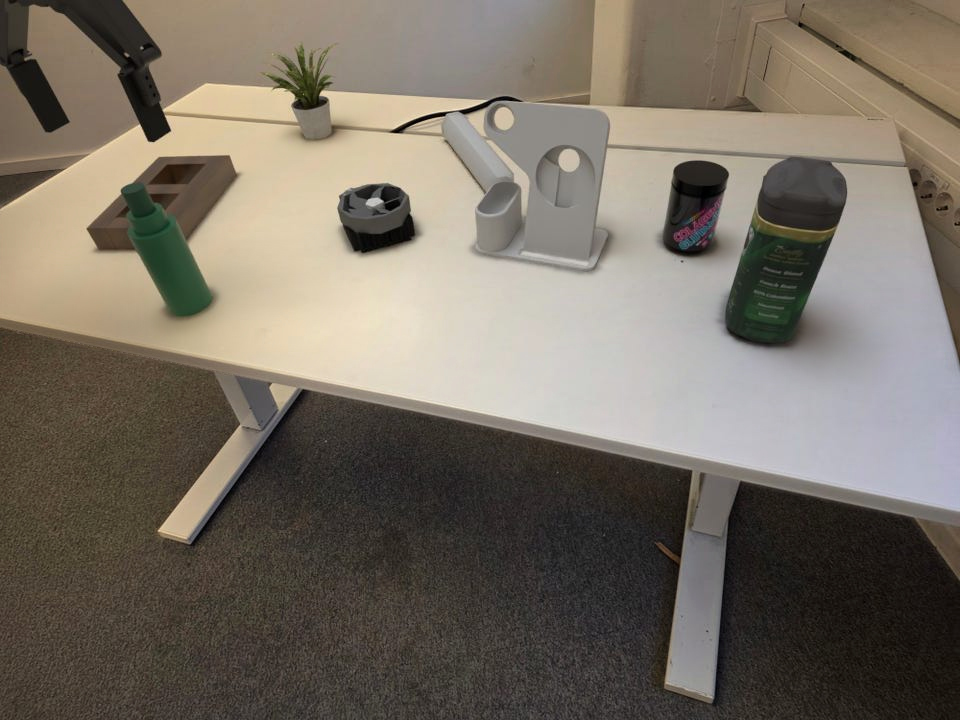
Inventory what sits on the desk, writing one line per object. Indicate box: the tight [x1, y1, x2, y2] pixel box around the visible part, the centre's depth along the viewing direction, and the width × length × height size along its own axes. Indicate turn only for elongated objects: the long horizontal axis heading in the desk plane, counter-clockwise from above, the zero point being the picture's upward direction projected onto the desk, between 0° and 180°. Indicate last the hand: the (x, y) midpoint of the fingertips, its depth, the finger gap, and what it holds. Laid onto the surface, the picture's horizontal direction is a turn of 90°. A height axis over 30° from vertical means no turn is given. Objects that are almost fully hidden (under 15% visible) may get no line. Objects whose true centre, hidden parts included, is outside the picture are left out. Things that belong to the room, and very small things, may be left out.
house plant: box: [260, 40, 339, 141], centre depth 112 cm, size 14×14×16 cm
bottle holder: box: [85, 154, 238, 251], centre depth 98 cm, size 13×23×4 cm, turn 175°
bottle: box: [120, 182, 213, 317], centre depth 75 cm, size 6×6×17 cm
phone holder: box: [474, 100, 611, 272], centre depth 79 cm, size 17×10×18 cm, turn 68°
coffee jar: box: [724, 156, 848, 344], centre depth 65 cm, size 10×8×19 cm
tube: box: [440, 111, 515, 193], centre depth 101 cm, size 5×5×25 cm
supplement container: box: [661, 159, 730, 256], centre depth 80 cm, size 7×7×10 cm
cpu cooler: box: [336, 182, 416, 254], centre depth 88 cm, size 10×6×10 cm
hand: (107, 132), depth 64 cm, fingers open, 13 cm apart
